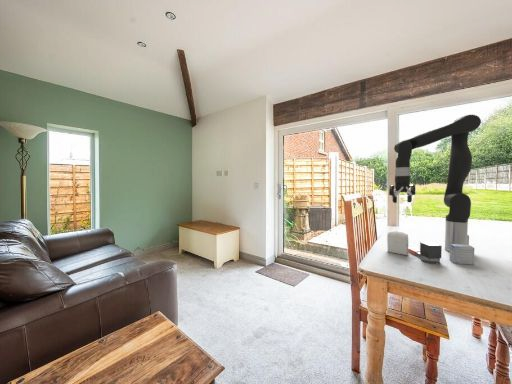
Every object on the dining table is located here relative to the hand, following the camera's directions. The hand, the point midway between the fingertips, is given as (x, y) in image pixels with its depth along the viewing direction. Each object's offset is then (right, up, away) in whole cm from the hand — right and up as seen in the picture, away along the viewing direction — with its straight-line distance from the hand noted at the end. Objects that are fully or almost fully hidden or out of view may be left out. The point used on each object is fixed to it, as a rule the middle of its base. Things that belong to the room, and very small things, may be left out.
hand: (402, 202), depth 128 cm
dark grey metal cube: (+2, -27, -18) cm, 32 cm away
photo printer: (-6, -29, -5) cm, 30 cm away
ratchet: (+2, -29, -13) cm, 31 cm away
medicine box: (+15, -29, -21) cm, 39 cm away
